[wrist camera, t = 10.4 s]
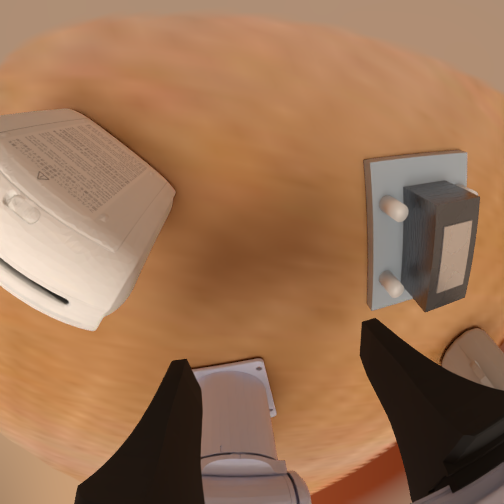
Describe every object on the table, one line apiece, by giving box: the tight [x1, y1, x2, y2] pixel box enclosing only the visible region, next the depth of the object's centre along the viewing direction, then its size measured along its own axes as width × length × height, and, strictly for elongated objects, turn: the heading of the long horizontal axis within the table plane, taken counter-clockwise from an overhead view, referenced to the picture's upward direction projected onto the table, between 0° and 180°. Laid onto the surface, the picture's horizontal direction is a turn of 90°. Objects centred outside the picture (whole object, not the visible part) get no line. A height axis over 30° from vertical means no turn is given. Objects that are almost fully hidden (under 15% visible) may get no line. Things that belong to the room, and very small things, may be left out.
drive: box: [400, 180, 480, 312], centre depth 19 cm, size 8×4×4 cm, turn 11°
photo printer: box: [0, 109, 176, 331], centre depth 12 cm, size 10×4×12 cm, turn 48°
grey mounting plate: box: [364, 150, 478, 311], centre depth 20 cm, size 12×9×3 cm
